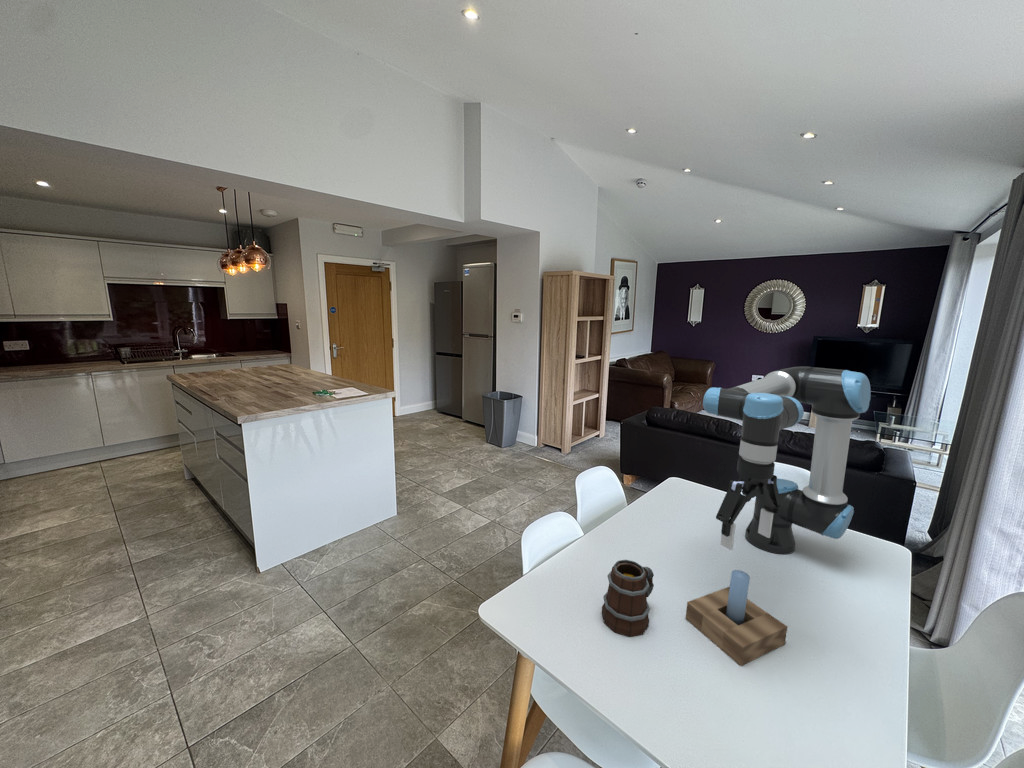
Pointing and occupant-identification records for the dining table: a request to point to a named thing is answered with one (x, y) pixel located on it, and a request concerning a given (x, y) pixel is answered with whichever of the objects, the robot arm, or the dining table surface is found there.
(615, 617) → the mug
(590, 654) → the dining table surface
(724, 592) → the socket block
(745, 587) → the peg
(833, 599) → the dining table surface
